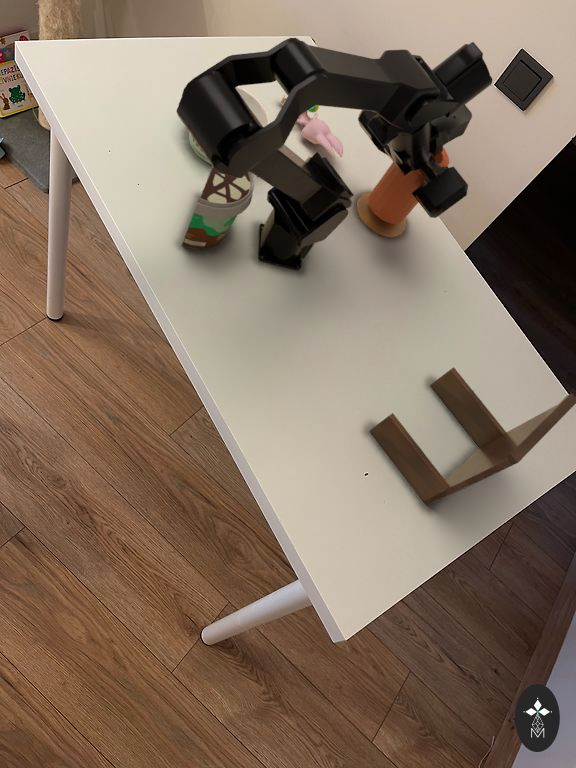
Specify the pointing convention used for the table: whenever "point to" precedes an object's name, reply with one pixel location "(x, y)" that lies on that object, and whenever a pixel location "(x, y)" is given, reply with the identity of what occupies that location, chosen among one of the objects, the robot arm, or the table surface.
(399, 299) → the table surface
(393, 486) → the table surface
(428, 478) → the wooden stand
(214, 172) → the food container
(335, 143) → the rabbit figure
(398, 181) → the jar
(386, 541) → the table surface
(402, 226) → the disc
